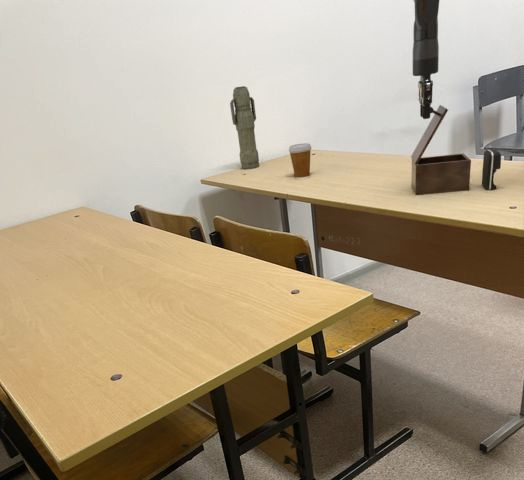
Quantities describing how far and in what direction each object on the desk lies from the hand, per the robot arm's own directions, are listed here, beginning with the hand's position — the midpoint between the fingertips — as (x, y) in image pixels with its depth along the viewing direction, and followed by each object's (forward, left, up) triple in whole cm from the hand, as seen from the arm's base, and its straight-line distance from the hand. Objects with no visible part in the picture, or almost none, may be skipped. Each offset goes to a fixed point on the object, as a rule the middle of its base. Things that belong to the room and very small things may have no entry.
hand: (425, 117), depth 167 cm
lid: (-2, 0, -5) cm, 6 cm away
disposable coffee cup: (+44, -44, -23) cm, 66 cm away
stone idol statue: (+71, -75, -23) cm, 106 cm away
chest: (-5, 0, -23) cm, 23 cm away
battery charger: (-20, +5, -23) cm, 31 cm away
